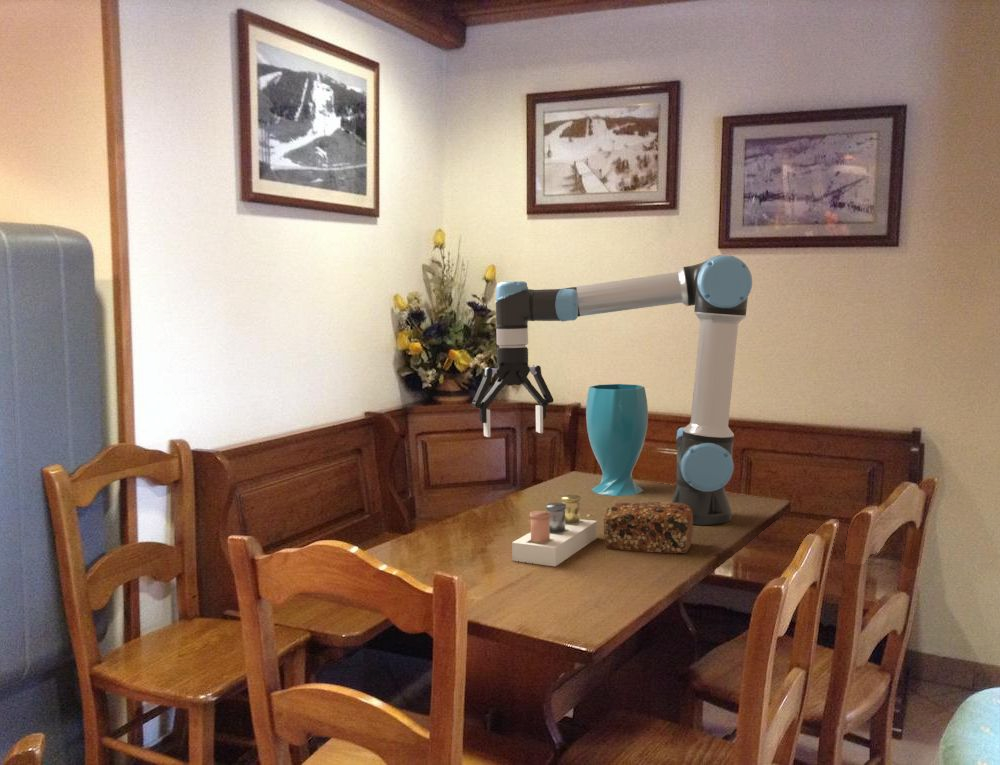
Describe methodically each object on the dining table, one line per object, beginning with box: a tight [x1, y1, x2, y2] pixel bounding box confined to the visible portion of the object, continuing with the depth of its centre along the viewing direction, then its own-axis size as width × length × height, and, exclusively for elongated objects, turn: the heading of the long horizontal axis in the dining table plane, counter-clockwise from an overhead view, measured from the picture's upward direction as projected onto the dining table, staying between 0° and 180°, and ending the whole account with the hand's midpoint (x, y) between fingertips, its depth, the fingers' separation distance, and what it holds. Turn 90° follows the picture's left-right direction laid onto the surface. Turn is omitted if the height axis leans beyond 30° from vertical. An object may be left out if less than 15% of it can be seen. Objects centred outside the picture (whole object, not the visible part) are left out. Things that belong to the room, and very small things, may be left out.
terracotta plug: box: [529, 510, 550, 543], centre depth 189 cm, size 4×4×6 cm
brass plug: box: [560, 494, 582, 524], centre depth 204 cm, size 4×4×6 cm
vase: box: [585, 383, 649, 497], centre depth 254 cm, size 17×17×30 cm
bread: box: [603, 501, 694, 554], centre depth 198 cm, size 19×11×10 cm, turn 70°
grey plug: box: [545, 502, 566, 533], centre depth 197 cm, size 4×4×6 cm
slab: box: [511, 518, 598, 567], centre depth 197 cm, size 10×24×4 cm, turn 153°
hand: (513, 434), depth 213 cm, fingers open, 13 cm apart
